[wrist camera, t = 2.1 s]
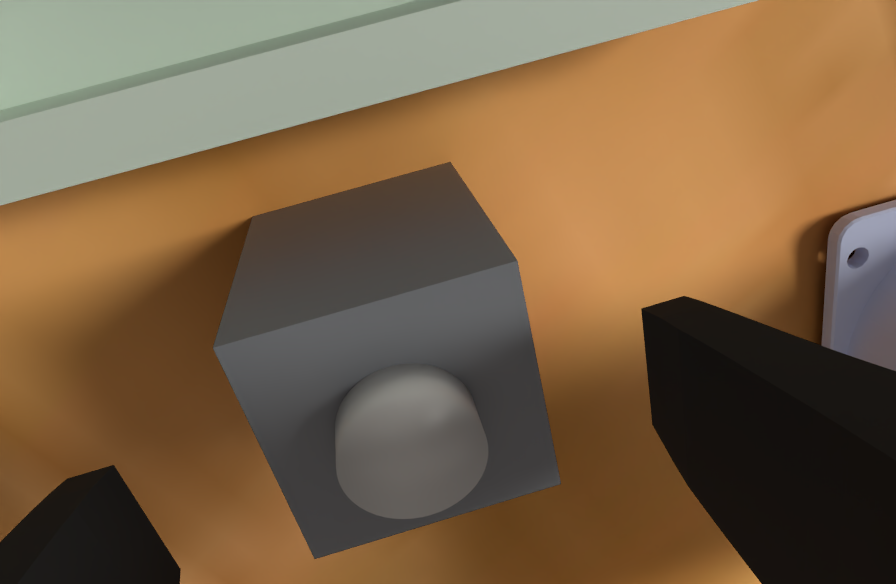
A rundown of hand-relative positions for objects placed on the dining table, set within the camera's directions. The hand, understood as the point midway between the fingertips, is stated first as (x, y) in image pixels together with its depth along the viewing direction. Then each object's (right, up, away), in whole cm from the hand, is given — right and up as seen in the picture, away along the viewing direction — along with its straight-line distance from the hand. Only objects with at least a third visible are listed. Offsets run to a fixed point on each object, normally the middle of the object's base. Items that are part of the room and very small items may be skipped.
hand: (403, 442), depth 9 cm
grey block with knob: (-1, +2, +5) cm, 5 cm away
